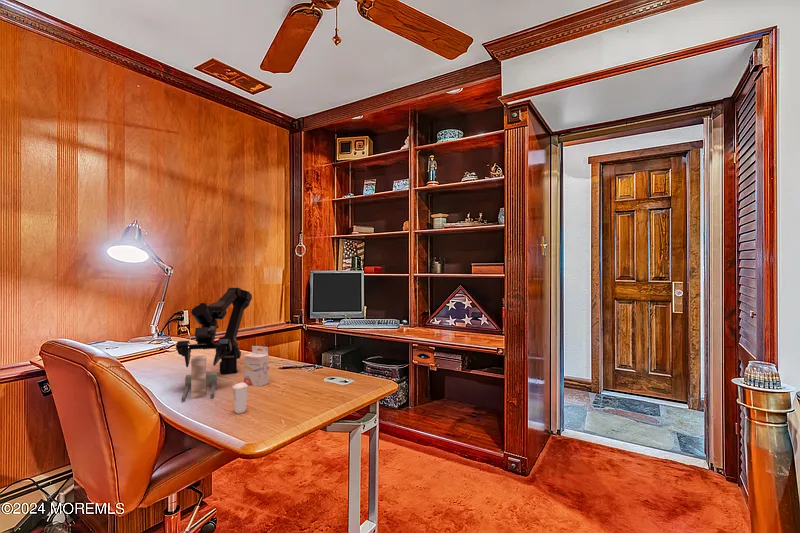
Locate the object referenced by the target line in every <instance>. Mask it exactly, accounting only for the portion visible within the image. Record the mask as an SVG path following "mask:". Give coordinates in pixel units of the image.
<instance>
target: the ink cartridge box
mask: <svg viewBox="0 0 800 533" xmlns="http://www.w3.org/2000/svg"><path fill="white" fill-rule="evenodd" d="M269 359H270V358H269V347H268V346H262V345H252V346H251V352H250V353H247V354H245V355H243V360H244V361H243V383H246V384H247V385H248V386H253V387H263V386H266V385H268V384H269V383H270V380H269V379H270V376H269V374H270V373H269V371H270V370H269V369H270V366H269V363H270V362H269V361H270V360H269Z"/></svg>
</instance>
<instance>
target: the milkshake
mask: <svg viewBox="0 0 800 533" xmlns="http://www.w3.org/2000/svg"><path fill="white" fill-rule="evenodd" d="M230 384H231V386H232V394H233V395H232V396H233V401H234V402H233V404H234V413H235V414H237V415H239V414H244V413H245V412H247V401H248V400H247V399H248V391H249V389H248V388H249V385H247V384H246V383H244V382H242V381H241V382H239V383H238V382H237V383H236V384H234V385H233V382H232V381H231V380H230Z"/></svg>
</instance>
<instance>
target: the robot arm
mask: <svg viewBox="0 0 800 533" xmlns="http://www.w3.org/2000/svg"><path fill="white" fill-rule="evenodd" d="M252 299H253V295H252V293H251V292H250V291H249V290H245V289H242V288H240V287H228V288H227V290H226V292H225V293H224V294H223V295H222V296H221V297H220V298H219V299H218V300H217V301H215V302H212V303H210V304H207V303H206V302H200V304H199V305H196V306H194V308H192V309H191V312H190V313H191V315H192V317H193V318H194V320H195V321H196V323H197V324H199V325H200V327H195V330H194V337H195V342H196V343H190V340H178V341H177V342H176V344H175V348H176V350H177V353H178V355H180V356H181V357H184V362H185V367H186V368H188V367H189V365H190V362H191V361H190V360H191V357H192V355H191V353H192V350H215V356H214V358H213V364H212V366H213V367H215V366H216V365H217V364H218V362H219V373H220V375H227V374H228V375H229V374H237V373H238V366H237V364H238V359H240V358H241V357H242V351H241V349H240V348H239V343H238V340H237V336H238V333H239V329H240V327H241V326H240V325H241V322H242V318H243V315H244V311H245V310H246V309H247V308H248V307H249V306H250V304H251V301H252ZM231 305H232V310H231V313H230V317H229V320H228V322H227V323H228V324H227V327H226V330H225V334H224V336H221V337H218V341H217V343H216V342H215V340H216V339H215V338H216V335H217V329H219V325H218V321H217V320H223V319H224V318H225V317H226V316H227V313H228V311H227V310H228V308H229V307H230V306H231ZM220 360H221V361H220Z"/></svg>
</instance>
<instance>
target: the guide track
mask: <svg viewBox="0 0 800 533" xmlns="http://www.w3.org/2000/svg"><path fill="white" fill-rule="evenodd" d="M184 379H185V380H184V381H185V383H184V390H183V394H182V396H181V403H185V402H186V400H187V396H188V394H189V391H190V388H191V374H187V375H186V374H185V378H184ZM217 384H218V372H217V371H216V372H215V371H213V372H206V387H207V386H211V387H210V388H211V389H210V399H211V400H212V399H214V398H215V390H216V386H217Z"/></svg>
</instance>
